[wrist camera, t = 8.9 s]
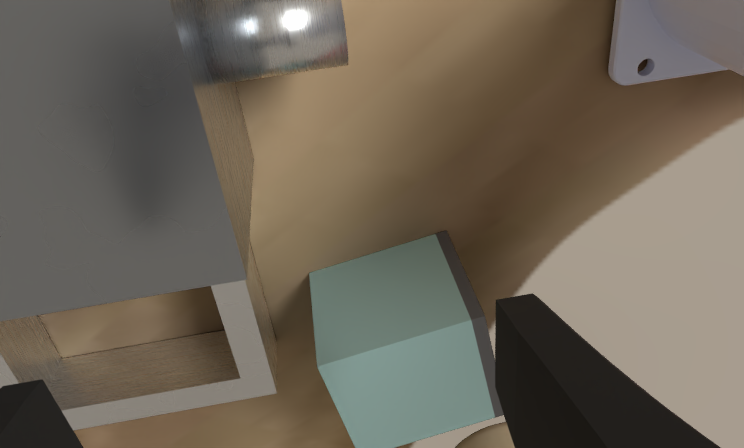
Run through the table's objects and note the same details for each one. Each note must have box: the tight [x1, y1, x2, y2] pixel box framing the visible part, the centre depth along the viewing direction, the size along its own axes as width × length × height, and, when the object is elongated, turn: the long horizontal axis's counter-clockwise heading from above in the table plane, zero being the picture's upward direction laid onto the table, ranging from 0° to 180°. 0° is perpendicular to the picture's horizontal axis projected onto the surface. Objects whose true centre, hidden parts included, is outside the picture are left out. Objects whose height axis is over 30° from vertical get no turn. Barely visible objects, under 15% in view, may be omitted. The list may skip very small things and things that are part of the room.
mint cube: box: [309, 231, 504, 448], centre depth 20 cm, size 4×4×5 cm
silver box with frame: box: [0, 0, 348, 430], centre depth 14 cm, size 13×16×8 cm
